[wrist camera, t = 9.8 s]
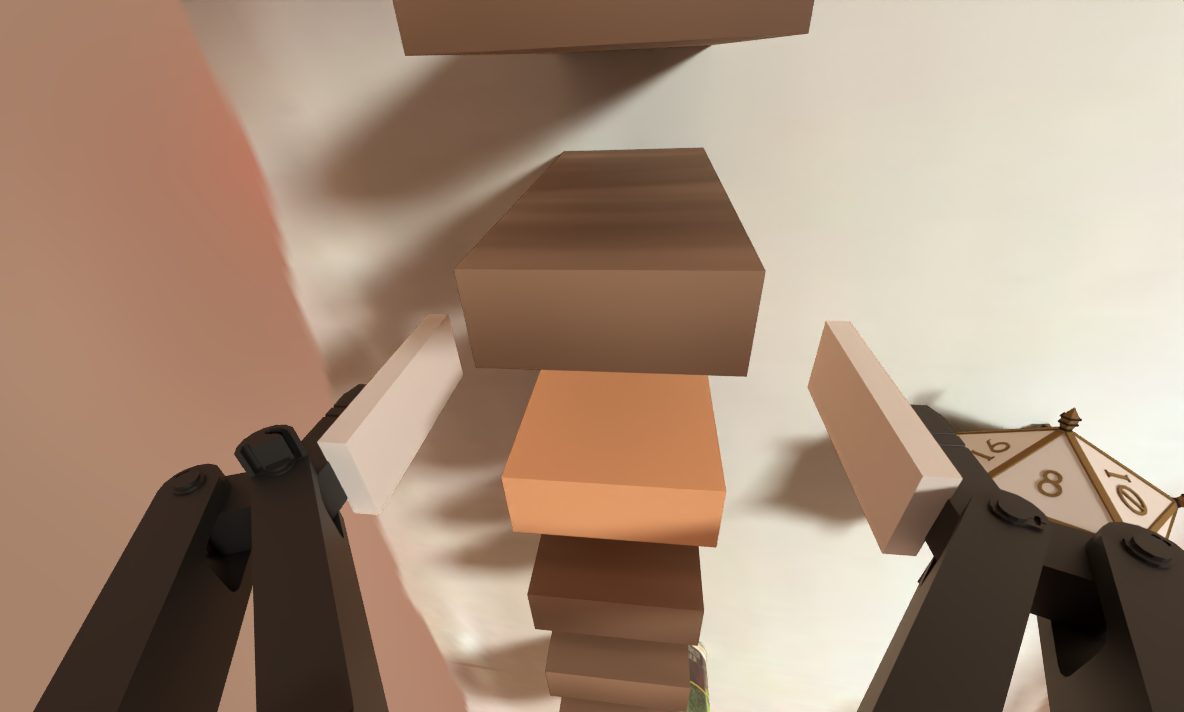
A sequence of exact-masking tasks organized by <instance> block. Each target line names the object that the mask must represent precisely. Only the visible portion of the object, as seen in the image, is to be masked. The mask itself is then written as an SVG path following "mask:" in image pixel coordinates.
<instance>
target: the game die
mask: <svg viewBox="0 0 1184 712" xmlns="http://www.w3.org/2000/svg"><path fill="white" fill-rule="evenodd" d="M1060 416H1061V419H1060V420H1058V422H1060V427H1051V426H1050V424H1047V425H1043V426H1042V427H1040V428H1022V429H1002V430H983V431H963V432H956V436H959V437H960V438H961V439H962V441H963V442H964V443H965V447H966V448H969V450H970V451H971V452H972V454H973V455H974V456H975V457H976V459H977V460H978V461H979V462H980V464H981V465H982V466H983V468H984V469H985V470H986V471H987V473H988V474H989V475H990V476H991V478H992V479H993V480H994V482H995V483H996V484H997V485H998V487H999V488H1000V489H1001V490H1005V491H1008V492H1011V493H1014V494H1017V495H1019V496H1021V497H1022V498H1024V499H1026V500H1028V501H1029V502H1031V503H1033V504H1034V505H1035V506H1036V507H1037V508H1039V509H1040V510H1041V511H1042V512H1043V513H1044V514H1045V515H1046V517H1047V518H1048V520H1049V521H1051V522H1054V523H1057V524H1061V525H1064V526H1068V527H1072V528H1075V529H1079V530H1082V531H1086V532H1089V533H1093V534H1096V533H1097V531H1098V530H1099V529H1100V528H1101V527H1102V526H1104V525H1106V524H1107V523H1109V522H1125V523H1130V524H1134V525H1139V526H1141V527H1144V528H1146V529H1149V530H1151V531H1153V532H1156V533H1158V534H1160V535H1161V536H1163V537H1165V538H1167V539H1168V538H1169V535H1170V532H1171V529H1172V526H1173V523H1174V520H1175V517H1176V513H1177V510H1178V508H1180V507H1184V494H1181V496H1179V497H1177V498H1172V497H1170V496H1169V495H1167V494H1166V493H1164V492H1163V491H1161V490H1160V489H1158V488H1157V487H1155V486H1154V485H1152V484H1151V483H1149V482H1148V481H1146V480H1145V479H1143V478H1142V477H1140V476H1139V475H1137V474H1136V473H1134V472H1133V471H1131V470H1130V469H1129V468H1127V467H1126V466H1124V465H1123V464H1121V463H1120V462H1118V461H1117V460H1115V459H1114V458H1112V457H1111V456H1109V455H1108V454H1106V453H1105V452H1103V451H1102V450H1100V449H1099V448H1097V447H1096V446H1094V445H1093V444H1091V443H1090V442H1088V441H1087V440H1085V439H1084V438H1082V437H1081V436H1079V435H1078V434H1076V433H1075V432H1073V431H1072V429H1073V428H1075V427H1078V426H1079V425H1078V422H1079V421H1082V420H1081V419H1080V418H1079V416H1078V414H1077V411H1076V409H1075V408H1073V409H1071V410H1070V411H1068V412H1066V413H1065V412H1064V413H1062V414H1061V415H1060Z"/></svg>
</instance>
